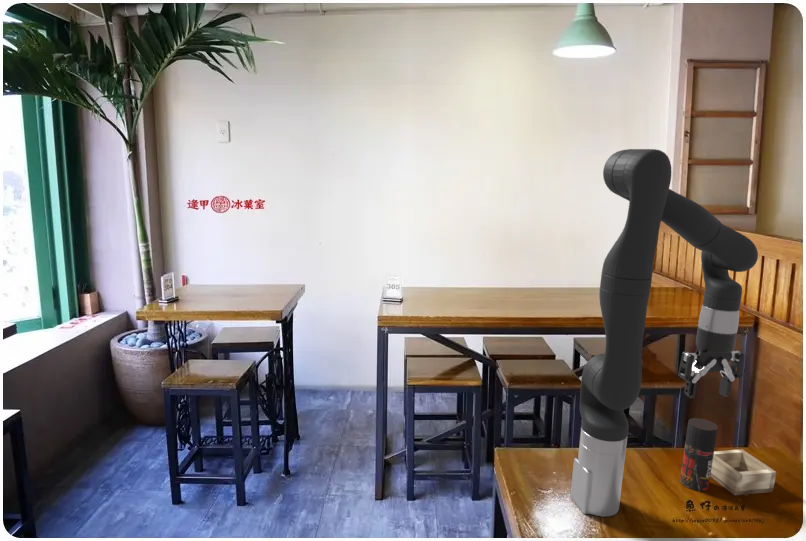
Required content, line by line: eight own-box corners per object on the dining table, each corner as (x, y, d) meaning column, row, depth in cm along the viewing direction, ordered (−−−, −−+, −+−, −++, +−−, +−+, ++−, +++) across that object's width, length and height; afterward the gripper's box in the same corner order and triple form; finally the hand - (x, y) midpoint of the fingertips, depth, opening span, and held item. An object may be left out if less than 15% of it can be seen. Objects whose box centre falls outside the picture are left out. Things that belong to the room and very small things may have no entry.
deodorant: (683, 473, 132) (691, 415, 129) (711, 482, 128) (720, 423, 125) (677, 484, 128) (685, 424, 125) (705, 494, 124) (714, 433, 121)
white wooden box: (734, 495, 124) (737, 475, 123) (703, 470, 133) (706, 452, 132) (772, 491, 126) (776, 472, 125) (739, 467, 135) (742, 449, 134)
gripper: (700, 333, 116) (690, 405, 119) (759, 331, 118) (747, 402, 121) (677, 322, 123) (667, 390, 126) (733, 321, 125) (722, 388, 129)
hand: (706, 396), depth 124 cm, fingers open, 8 cm apart
